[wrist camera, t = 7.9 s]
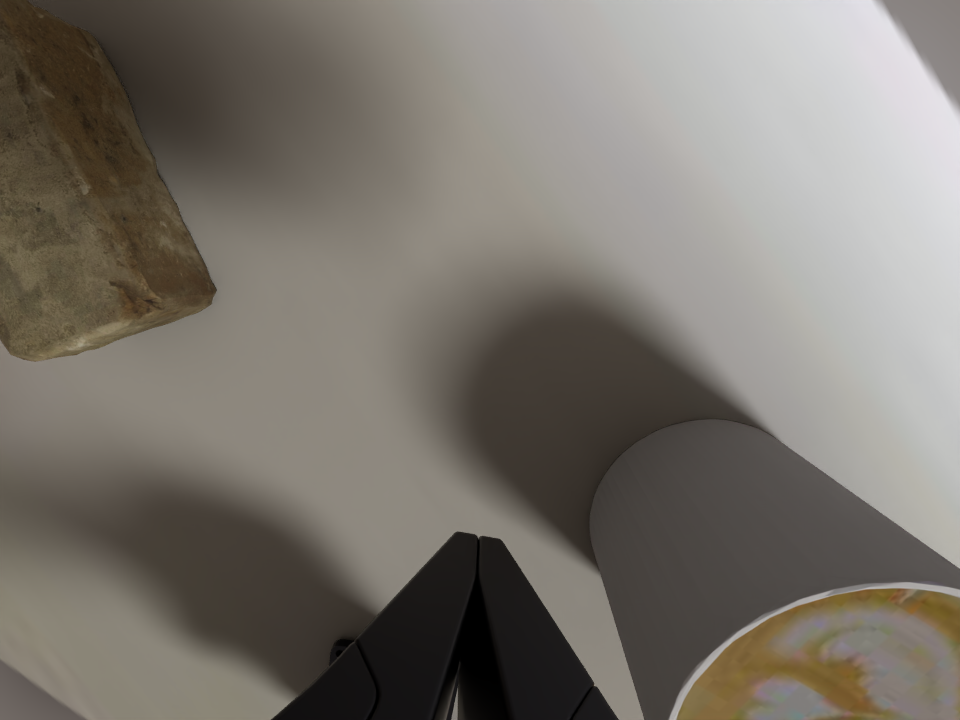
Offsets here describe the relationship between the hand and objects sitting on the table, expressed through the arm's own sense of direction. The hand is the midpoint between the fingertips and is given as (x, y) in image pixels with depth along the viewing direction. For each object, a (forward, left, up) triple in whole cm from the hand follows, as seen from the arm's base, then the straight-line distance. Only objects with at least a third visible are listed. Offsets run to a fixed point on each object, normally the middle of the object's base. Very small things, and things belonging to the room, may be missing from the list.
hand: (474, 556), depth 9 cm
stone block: (+5, +17, -12) cm, 21 cm away
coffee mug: (-6, -12, -12) cm, 18 cm away
